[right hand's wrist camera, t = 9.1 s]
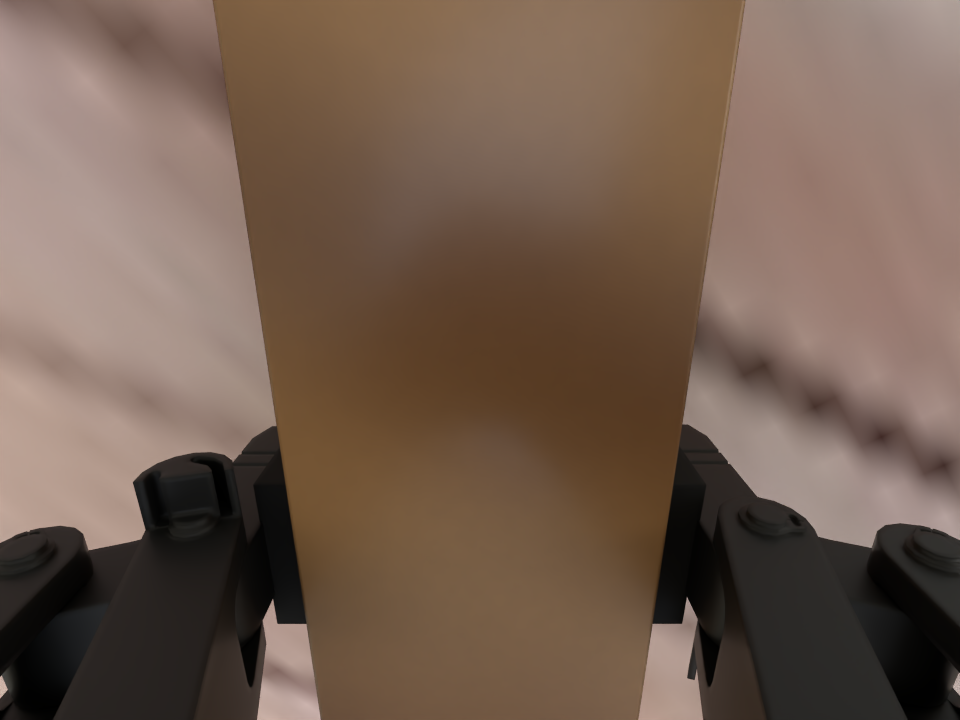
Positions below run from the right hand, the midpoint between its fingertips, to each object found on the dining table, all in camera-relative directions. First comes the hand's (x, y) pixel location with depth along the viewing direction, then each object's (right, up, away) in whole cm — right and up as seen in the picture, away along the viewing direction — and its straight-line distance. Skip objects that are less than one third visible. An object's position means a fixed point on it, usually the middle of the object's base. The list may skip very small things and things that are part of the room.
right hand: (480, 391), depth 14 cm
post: (0, +32, -11) cm, 34 cm away
